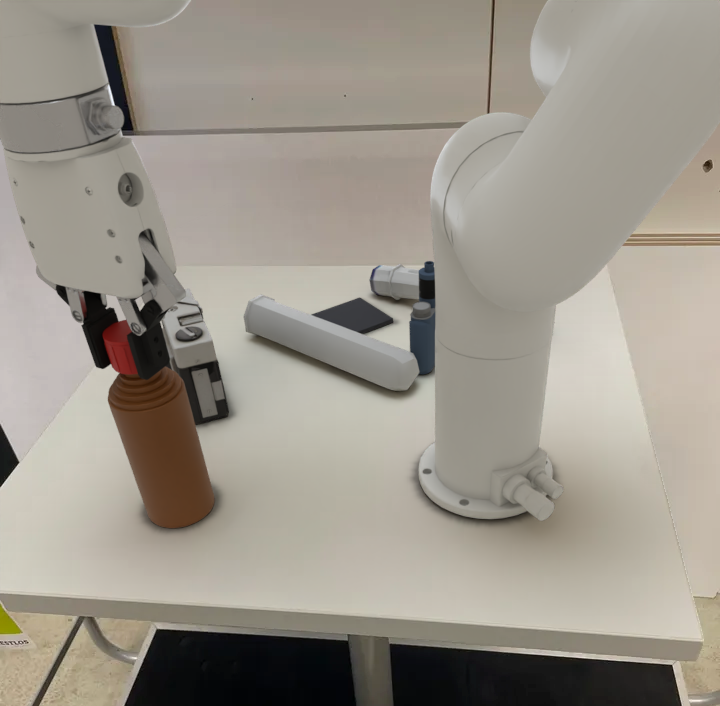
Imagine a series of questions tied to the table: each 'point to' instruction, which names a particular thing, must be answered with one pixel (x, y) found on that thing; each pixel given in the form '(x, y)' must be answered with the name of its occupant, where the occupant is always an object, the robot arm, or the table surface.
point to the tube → (332, 343)
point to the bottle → (162, 447)
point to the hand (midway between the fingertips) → (133, 363)
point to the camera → (195, 359)
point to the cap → (119, 347)
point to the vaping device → (424, 321)
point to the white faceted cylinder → (395, 282)
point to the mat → (356, 316)
